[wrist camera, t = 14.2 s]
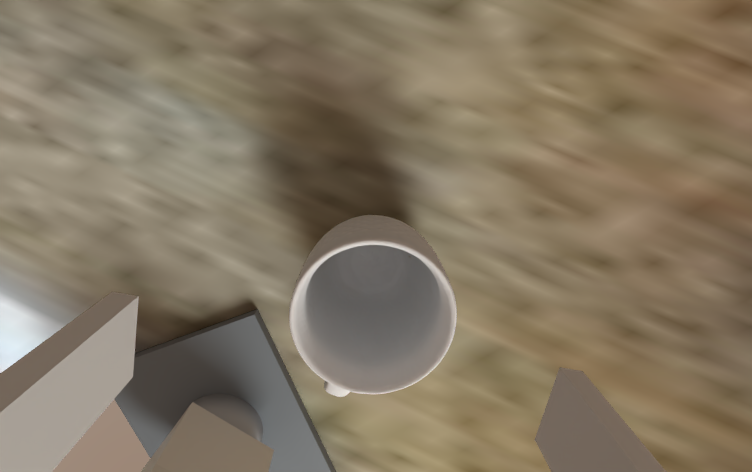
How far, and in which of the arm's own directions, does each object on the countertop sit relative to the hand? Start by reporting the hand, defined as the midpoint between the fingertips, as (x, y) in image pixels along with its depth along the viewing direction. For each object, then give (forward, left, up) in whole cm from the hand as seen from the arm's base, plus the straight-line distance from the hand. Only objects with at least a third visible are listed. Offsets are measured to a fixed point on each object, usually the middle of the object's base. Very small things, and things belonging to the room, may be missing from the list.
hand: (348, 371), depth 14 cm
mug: (+6, -2, -28) cm, 28 cm away
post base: (+16, -21, -28) cm, 38 cm away
